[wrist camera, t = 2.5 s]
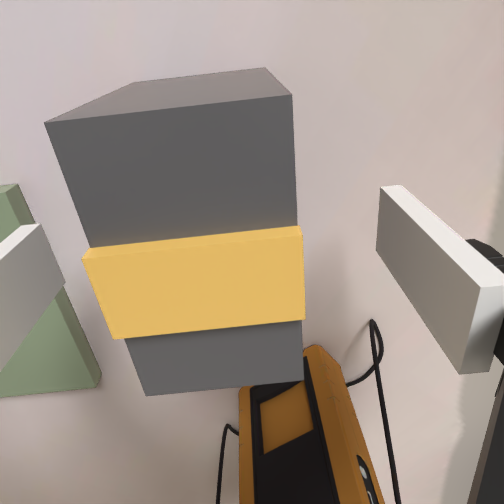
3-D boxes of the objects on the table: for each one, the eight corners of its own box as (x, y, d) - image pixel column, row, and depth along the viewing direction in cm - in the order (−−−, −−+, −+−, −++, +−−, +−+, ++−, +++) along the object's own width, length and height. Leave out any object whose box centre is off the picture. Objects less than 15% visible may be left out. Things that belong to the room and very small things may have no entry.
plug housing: (131, 82, 17) (29, 127, 8) (266, 67, 17) (297, 97, 8) (176, 267, 22) (141, 410, 13) (279, 256, 22) (308, 393, 13)
